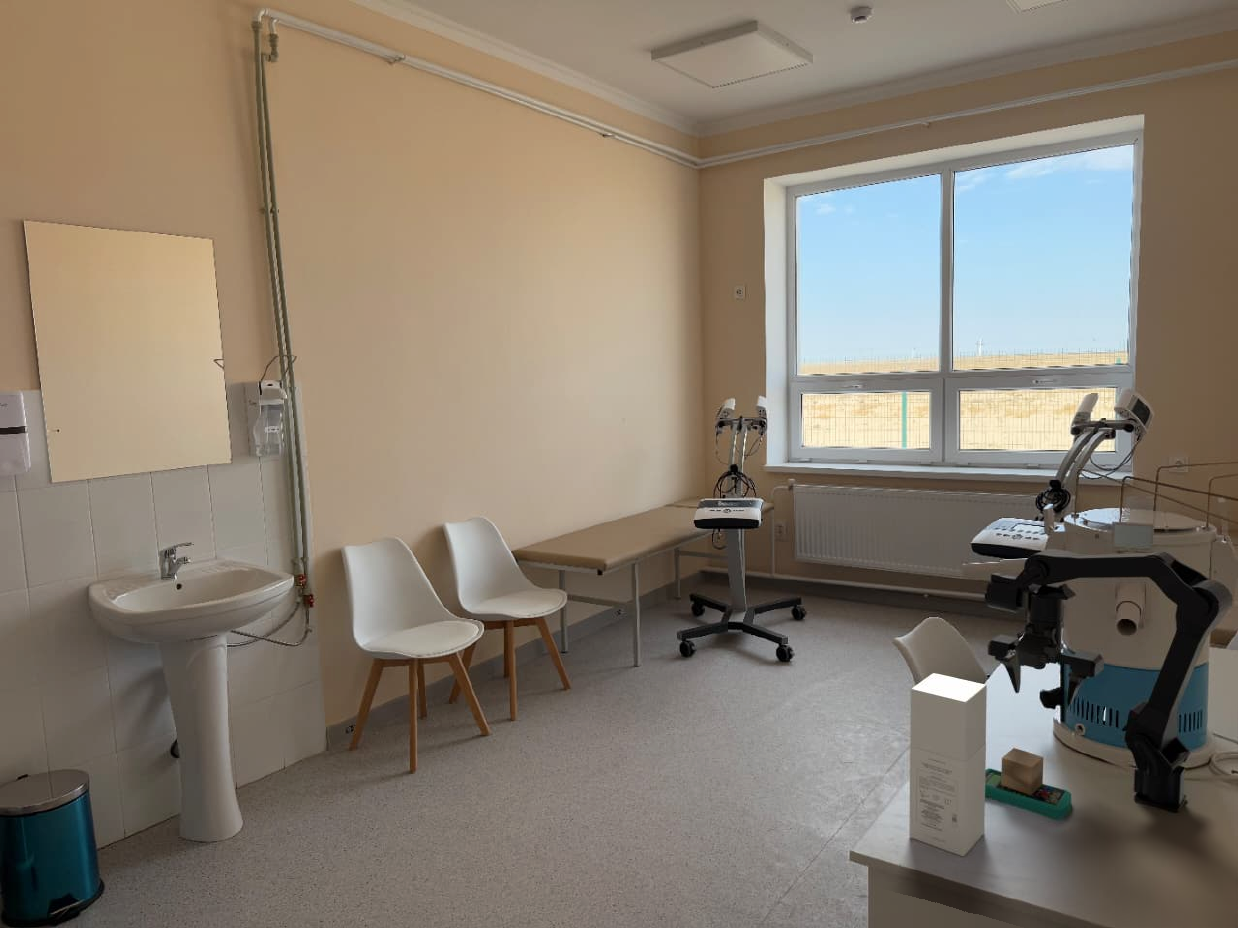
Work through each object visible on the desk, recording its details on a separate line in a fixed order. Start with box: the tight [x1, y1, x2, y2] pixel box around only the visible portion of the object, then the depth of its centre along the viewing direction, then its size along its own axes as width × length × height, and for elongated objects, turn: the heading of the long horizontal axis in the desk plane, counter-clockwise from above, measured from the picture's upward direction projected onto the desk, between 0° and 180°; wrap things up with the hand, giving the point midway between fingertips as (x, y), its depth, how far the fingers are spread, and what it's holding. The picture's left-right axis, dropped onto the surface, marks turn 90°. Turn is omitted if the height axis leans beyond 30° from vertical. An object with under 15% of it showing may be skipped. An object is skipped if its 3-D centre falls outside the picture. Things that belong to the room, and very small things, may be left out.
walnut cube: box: [1000, 747, 1044, 795], centre depth 148 cm, size 5×5×5 cm
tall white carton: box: [909, 672, 988, 857], centre depth 137 cm, size 9×9×25 cm
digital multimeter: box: [985, 767, 1072, 821], centre depth 149 cm, size 7×15×3 cm, turn 48°
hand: (1042, 698), depth 161 cm, fingers open, 9 cm apart
